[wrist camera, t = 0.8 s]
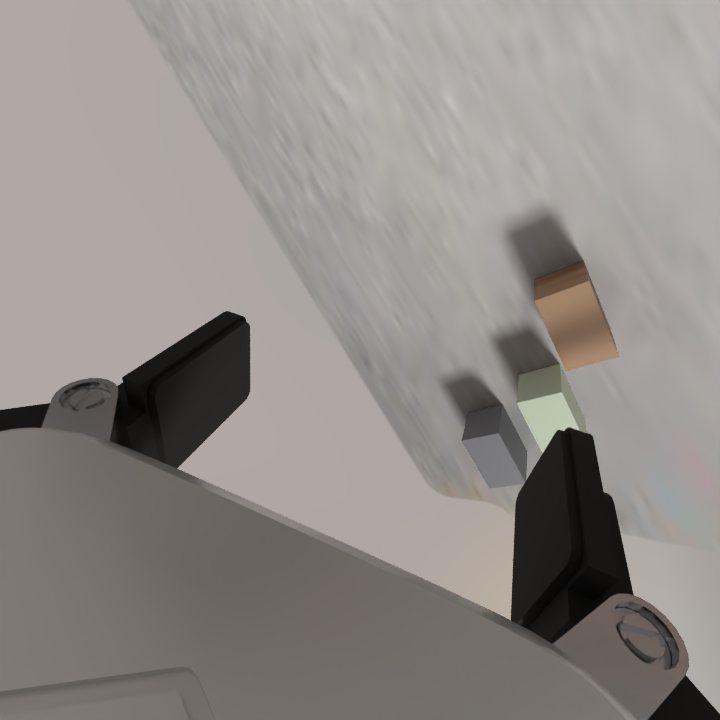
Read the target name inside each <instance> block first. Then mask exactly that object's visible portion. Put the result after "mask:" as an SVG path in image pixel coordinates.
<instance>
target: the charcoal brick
mask: <svg viewBox="0 0 720 720" xmlns="http://www.w3.org/2000/svg"><path fill="white" fill-rule="evenodd" d="M462 442H463V444H464V445H465V447H466V449H467V450H468V452H469V454H470V456H471V457H472V459H473V461H474V463H475V464H476V466H477V468H478V469H479V471H480V473H481V475H482V476H483V478H484V480H485V481H486V483H487V485H488V487H489V488H495V487H503V486H511V485H519V484H525V482H526V469H527V450H526V449H525V447H524V445H523V443H522V441H521V439H520V437H519V435H518V433H517V431H516V429H515V427H514V426H513V424H512V422H511V420H510V418H509V416H508V414H507V412H506V410H505V408H504V406H503V405H497V406H493V407H489V408H485V409H481V410H477V411H473V412H468V417H467V421H466V425H465V429H464V434H463V438H462Z"/></svg>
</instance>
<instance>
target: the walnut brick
mask: <svg viewBox="0 0 720 720" xmlns="http://www.w3.org/2000/svg"><path fill="white" fill-rule="evenodd" d="M534 301H535V303H536V306H537V308H538V310H539V312H540V315H541V317H542V319H543V321H544V323H545V326H546V328H547V330H548V332H549V335H550V337H551V339H552V341H553V343H554V346H555V348H556V350H557V352H558V355H559V357H560V359H561V361H562V363H563V366H564V368H565V370H566V371H567V370H571V369H574V368H578V367H582V366H586V365H589V364H593V363H597V362H601V361H604V360H608V359H612V358H616V357H619V355H618V352H617V349H616V345H615V342H614V339H613V336H612V333H611V329H610V327H609V324H608V322H607V319H606V317H605V314H604V312H603V309H602V306H601V304H600V301H599V299H598V296H597V294H596V291H595V289H594V286H593V284H592V281H591V279H590V276H589V273H588V271H587V268H586V266H585V263H584V261H581V262H578V263H576V264H573V265H571V266H568V267H566V268H563V269H561V270H558V271H556V272H553V273H551V274H548V275H546V276H543V277H541V278H538V279H536V280H535V298H534Z"/></svg>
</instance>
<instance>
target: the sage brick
mask: <svg viewBox="0 0 720 720" xmlns="http://www.w3.org/2000/svg"><path fill="white" fill-rule="evenodd" d="M517 404H518V406H519V408H520V410H521V412H522V414H523V416H524V418H525V420H526V422H527V424H528V426H529V428H530V430H531V432H532V434H533V436H534V438H535V440H536V442H537V444H538V446H539V447H540V449H541V451H542V453H543V452H544V451H545V449H546V447H547V446H548V444H549V442H550V441H551V439H552V437H553V436H554V434H555V433H556V431H557V430H562V431H565V429H566V428H568V427H570V428H573V429H576V430H579V431H582V432H585V433H587V432H586V425H585V418H584V416H583V414H582V412H581V409H580V407H579V405H578V403H577V401H576V398H575V396H574V394H573V392H572V390H571V387H570V385H569V383H568V381H567V379H566V376H565V374H564V372H563V370H562V367H561V365H560V364H556V365H553V366H549V367H546V368H542V369H538V370H535V371H531V372H528V373H524V374H520V375H519V380H518V394H517Z"/></svg>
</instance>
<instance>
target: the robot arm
mask: <svg viewBox="0 0 720 720" xmlns="http://www.w3.org/2000/svg"><path fill="white" fill-rule="evenodd" d="M122 379H123V383H121V384H120V385H118V386H116V384H115V383H113V382H111V381H109V380H106V379H101V378H89V379H83V380H79V381H76V382H72V383H70V384H68V385H66V386H64V387H62V388H61V389H60V390H58V391H57V392H56V393H55V395H54V397H53V398H52V400H51V403H48V404H41V405H33V406H26V407H19V408H12V409H5V410H0V720H720V714H719V713H718V712H717V711H716V709H715V708H714V707H713V706H712V705H711V704H710V703H709V701H708V700H707V699H706V698H705V697H704V696H703V695H702V693H701V692H700V691H699V690H698V689H697V688H696V687H695V685H694V684H693V683H692V682H691V681H690V680H689V679H688V677H687V676H686V672H687V670H688V668H689V659H688V653H687V650H686V647H685V644H684V641H683V640H682V638H681V637H680V635H679V633H678V631H677V630H676V628H675V627H674V626H673V625H672V623H671V622H670V621H669V620H668V619H667V618H666V616H665V615H664V614H662V613H661V612H660V611H659V610H658V609H656V608H655V607H654V606H653V605H651V604H650V603H648V602H646V601H645V600H643V599H641V598H639V597H636V596H634V595H633V591H632V586H631V581H630V577H629V572H628V567H627V562H626V558H625V553H624V548H623V544H622V539H621V534H620V529H619V524H618V520H617V515H616V510H615V505H614V502H613V499H612V497H611V496H610V495H609V494H607V493H604V492H603V487H602V482H601V477H600V471H599V466H598V461H597V456H596V450H595V445H594V440H593V436H592V435H591V434H588V433H585V432H582V431H579V430H576V429H573V428H570V427H568V428H566V429H565V431H562V430H557V431H556V433H555V434H554V436H553V437H552V439H551V441H550V442H549V444H548V446H547V447H546V449H545V451H544V452H543V454H542V456H541V457H540V459H539V461H538V462H537V464H536V466H535V467H534V469H533V470H532V472H531V474H530V475H529V477H528V479H527V480H526V482H525V484H524V485H523V487H522V489H521V490H520V492H519V494H518V497H517V500H516V509H515V535H514V558H513V583H512V606H511V607H512V608H511V620H509V619H507V618H505V617H503V616H501V615H499V614H497V613H495V612H493V611H491V610H489V609H487V608H485V607H482V606H480V605H478V604H476V603H474V602H472V601H470V600H468V599H466V598H463V597H461V596H459V595H457V594H455V593H453V592H451V591H449V590H446V589H444V588H442V587H440V586H438V585H436V584H434V583H431V582H429V581H427V580H425V579H422V578H420V577H418V576H416V575H414V574H411V573H409V572H407V571H405V570H403V569H401V568H398V567H396V566H394V565H392V564H390V563H387V562H385V561H383V560H381V559H378V558H376V557H374V556H372V555H370V554H367V553H365V552H363V551H361V550H359V549H356V548H354V547H352V546H350V545H348V544H345V543H343V542H341V541H339V540H336V539H334V538H332V537H330V536H327V535H325V534H323V533H321V532H318V531H316V530H314V529H312V528H310V527H307V526H305V525H303V524H301V523H298V522H296V521H294V520H292V519H289V518H287V517H285V516H283V515H281V514H278V513H276V512H274V511H272V510H269V509H267V508H265V507H262V506H260V505H258V504H256V503H253V502H251V501H249V500H246V499H245V498H242V497H240V496H238V495H235V494H233V493H231V492H229V491H226V490H224V489H222V488H220V487H217V486H215V485H213V484H210V483H208V482H206V481H204V480H201V479H199V478H197V477H195V476H192V475H190V474H188V473H185V472H183V471H181V470H179V469H177V468H178V467H179V466H180V465H181V464H182V463H183V462H184V461H185V460H186V459H187V458H188V457H189V456H190V455H191V454H192V453H193V452H194V451H195V450H196V449H197V448H198V447H199V446H200V445H201V444H202V443H203V442H204V441H205V440H206V439H207V438H208V437H209V436H210V435H211V434H212V433H213V432H214V431H215V430H216V429H217V428H218V427H219V426H220V425H221V424H222V423H223V422H224V421H225V420H226V419H227V418H228V417H229V416H230V415H231V414H232V413H233V412H234V411H235V410H236V409H237V408H238V407H239V406H240V405H241V404H242V403H243V402H244V401H245V400H246V399H247V397H248V395H249V392H250V325H249V324H248V323H247V322H246V319H245V317H243V316H240V315H237V314H235V313H231V312H228V311H226V312H223V313H222V314H220V315H219V316H217V317H216V318H214V319H213V320H211V321H209V322H208V323H206V324H205V325H203V326H202V327H200V328H198V329H197V330H195V331H194V332H192V333H191V334H189V335H188V336H186V337H184V338H183V339H181V340H180V341H178V342H177V343H175V344H174V345H172V346H171V347H169V348H167V349H166V350H164V351H163V352H161V353H160V354H158V355H157V356H155V357H153V358H152V359H150V360H149V361H147V362H146V363H144V364H143V365H141V366H139V367H138V368H136V369H135V370H133V371H132V372H130V373H128V374H127V375H125V376H124V377H123V378H122Z"/></svg>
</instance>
